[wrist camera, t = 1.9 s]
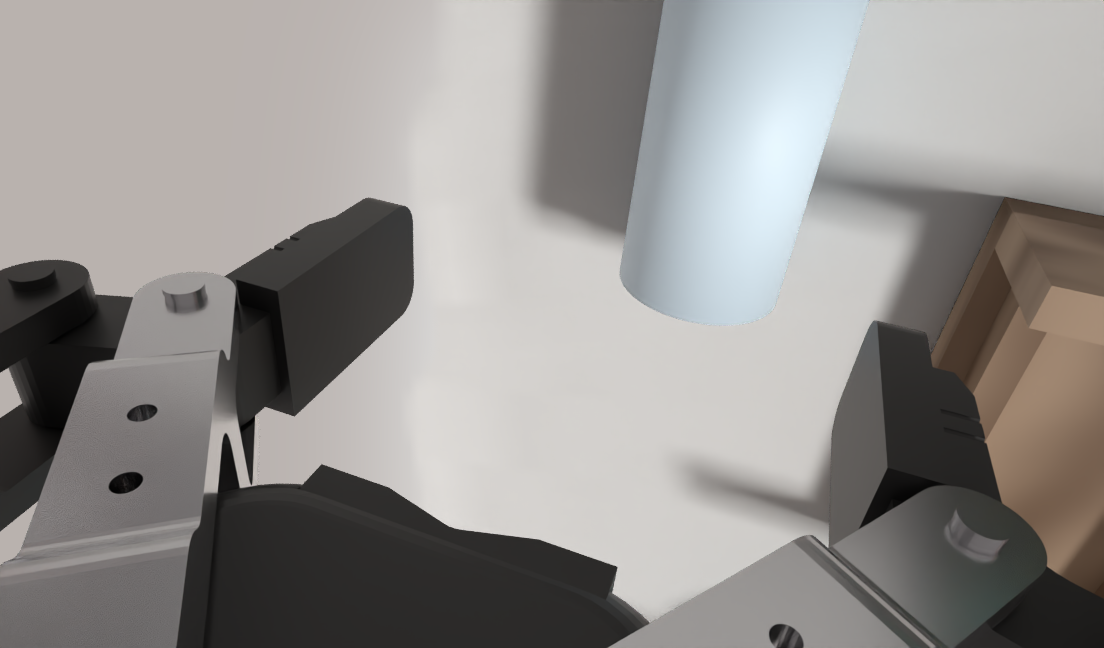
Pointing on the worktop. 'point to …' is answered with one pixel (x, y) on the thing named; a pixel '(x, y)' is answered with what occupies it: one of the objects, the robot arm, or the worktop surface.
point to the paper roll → (732, 150)
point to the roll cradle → (1040, 374)
